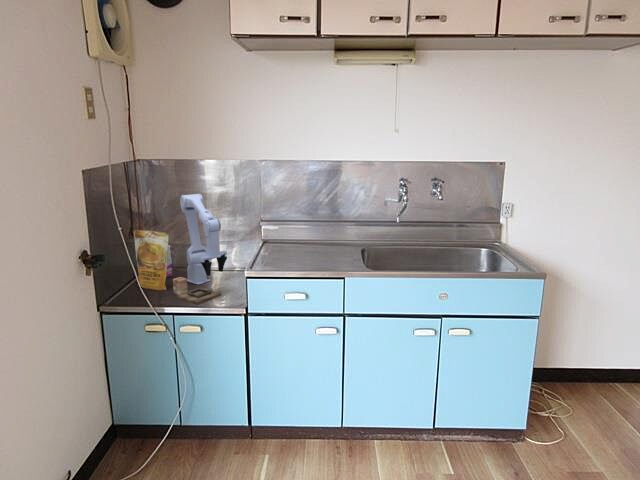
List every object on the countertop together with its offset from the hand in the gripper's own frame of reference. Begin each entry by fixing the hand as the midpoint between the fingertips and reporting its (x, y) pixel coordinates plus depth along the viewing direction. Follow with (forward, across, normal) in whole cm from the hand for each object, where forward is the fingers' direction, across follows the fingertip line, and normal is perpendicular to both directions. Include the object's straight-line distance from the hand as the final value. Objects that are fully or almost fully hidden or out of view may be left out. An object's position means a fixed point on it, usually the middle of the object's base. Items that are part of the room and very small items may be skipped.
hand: (214, 273), depth 222 cm
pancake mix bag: (+10, -12, +30) cm, 34 cm away
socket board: (+10, -8, +2) cm, 13 cm away
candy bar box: (+10, -1, +39) cm, 41 cm away
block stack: (+10, -10, +13) cm, 19 cm away
